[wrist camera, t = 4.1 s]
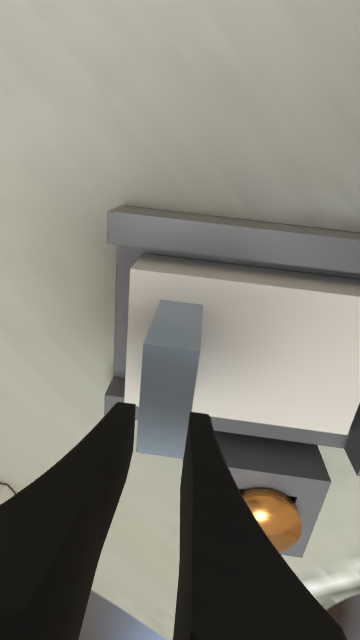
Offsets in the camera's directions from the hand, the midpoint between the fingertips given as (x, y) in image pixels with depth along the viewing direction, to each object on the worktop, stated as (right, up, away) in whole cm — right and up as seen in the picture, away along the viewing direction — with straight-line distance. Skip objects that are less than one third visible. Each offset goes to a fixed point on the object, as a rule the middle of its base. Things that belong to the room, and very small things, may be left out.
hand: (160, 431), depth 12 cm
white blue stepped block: (+4, +3, +8) cm, 10 cm away
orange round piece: (+6, -6, +12) cm, 15 cm away
